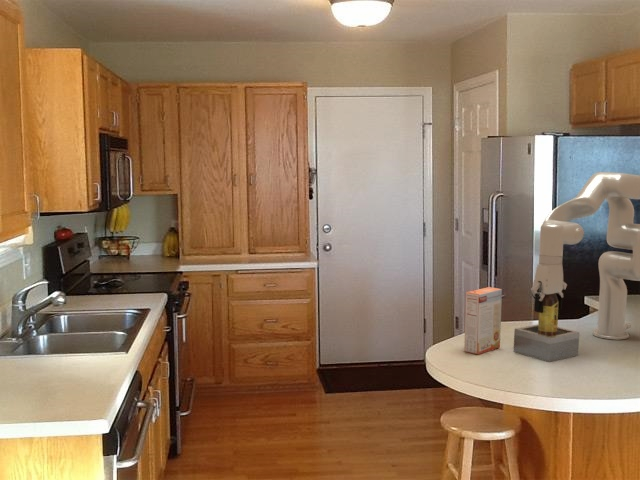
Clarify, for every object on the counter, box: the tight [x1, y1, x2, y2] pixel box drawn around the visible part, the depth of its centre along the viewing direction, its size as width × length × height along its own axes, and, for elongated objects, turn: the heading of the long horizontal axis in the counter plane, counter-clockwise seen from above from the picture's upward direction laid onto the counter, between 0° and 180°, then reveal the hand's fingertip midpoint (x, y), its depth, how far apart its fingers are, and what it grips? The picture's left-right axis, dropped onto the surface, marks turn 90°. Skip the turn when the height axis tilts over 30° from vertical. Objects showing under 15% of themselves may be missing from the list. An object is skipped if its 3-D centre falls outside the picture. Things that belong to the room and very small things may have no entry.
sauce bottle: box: [537, 293, 559, 336], centre depth 264 cm, size 6×6×20 cm
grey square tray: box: [513, 323, 580, 363], centre depth 266 cm, size 17×15×8 cm
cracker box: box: [463, 286, 503, 356], centre depth 268 cm, size 14×6×21 cm, turn 134°
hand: (548, 310), depth 264 cm, fingers open, 9 cm apart
